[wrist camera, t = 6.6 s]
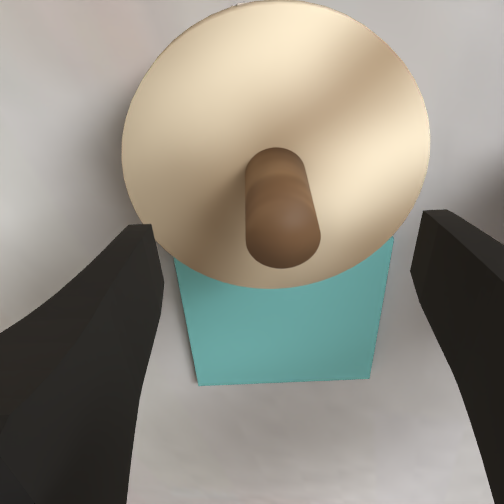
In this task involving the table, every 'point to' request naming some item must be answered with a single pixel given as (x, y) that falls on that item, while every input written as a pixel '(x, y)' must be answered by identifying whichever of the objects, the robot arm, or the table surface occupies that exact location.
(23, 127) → the table surface
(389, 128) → the cover
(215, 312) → the mat
